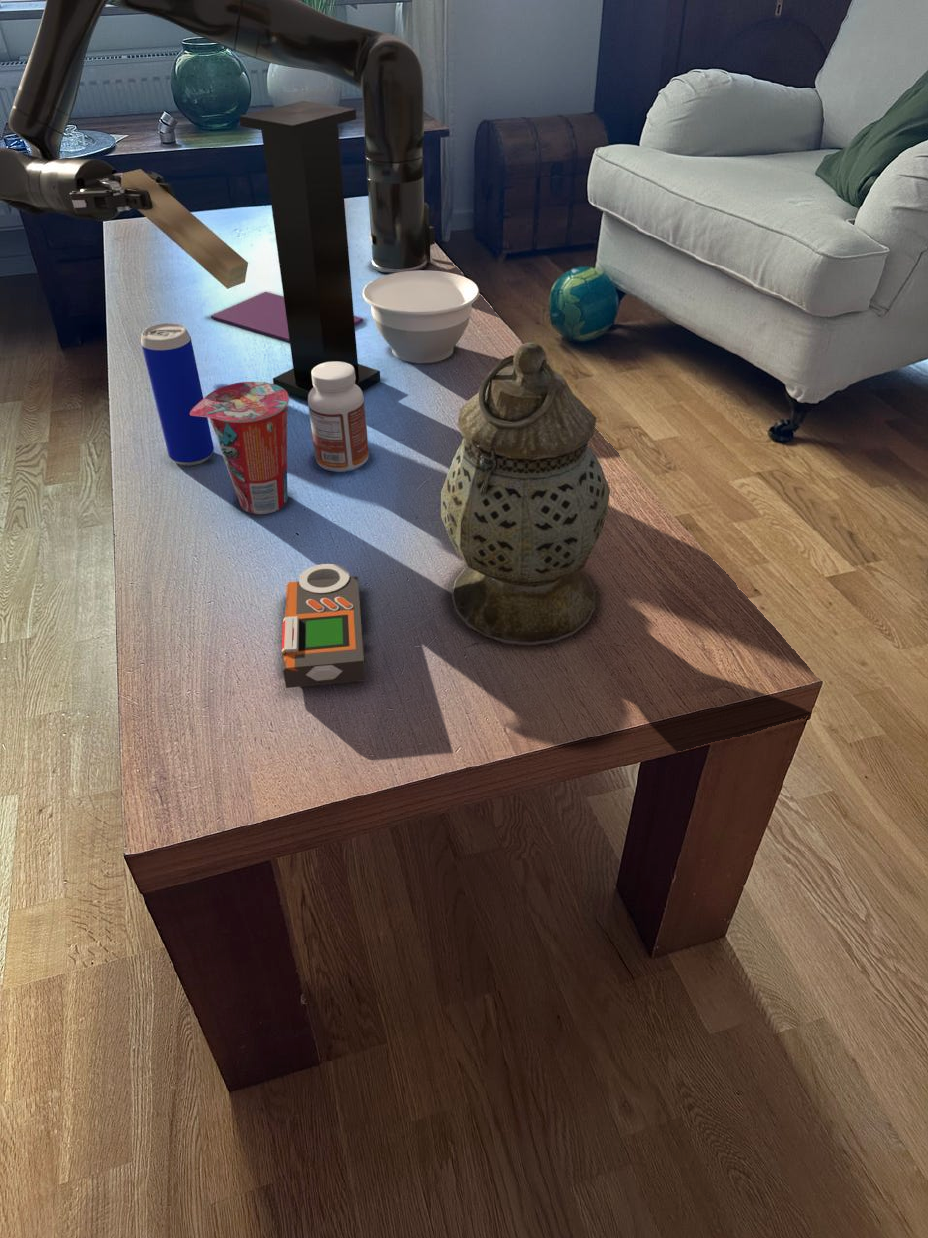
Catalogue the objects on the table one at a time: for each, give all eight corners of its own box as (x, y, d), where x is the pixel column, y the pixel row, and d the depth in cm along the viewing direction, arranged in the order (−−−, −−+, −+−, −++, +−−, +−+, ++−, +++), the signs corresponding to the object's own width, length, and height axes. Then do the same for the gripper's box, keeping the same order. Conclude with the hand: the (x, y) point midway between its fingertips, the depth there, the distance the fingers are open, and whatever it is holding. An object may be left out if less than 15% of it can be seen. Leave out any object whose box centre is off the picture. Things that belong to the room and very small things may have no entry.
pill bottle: (358, 442, 106) (350, 353, 98) (377, 466, 101) (370, 375, 94) (308, 453, 104) (296, 364, 96) (325, 478, 99) (314, 386, 92)
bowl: (459, 322, 133) (459, 264, 128) (494, 365, 122) (495, 304, 116) (356, 335, 130) (351, 276, 124) (381, 381, 118) (377, 318, 113)
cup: (263, 472, 100) (246, 373, 92) (319, 496, 97) (306, 394, 89) (201, 510, 94) (177, 407, 87) (257, 536, 91) (237, 431, 83)
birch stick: (120, 194, 115) (121, 173, 112) (139, 189, 116) (140, 168, 114) (227, 288, 112) (230, 269, 109) (245, 282, 114) (248, 262, 111)
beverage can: (220, 446, 105) (195, 322, 95) (206, 468, 101) (179, 342, 91) (178, 444, 105) (149, 320, 96) (163, 466, 101) (131, 340, 92)
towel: (265, 293, 142) (265, 291, 142) (362, 320, 134) (362, 318, 134) (211, 318, 135) (210, 315, 134) (310, 348, 126) (309, 345, 126)
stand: (273, 388, 116) (232, 114, 96) (325, 362, 123) (296, 99, 102) (330, 409, 112) (299, 126, 91) (380, 381, 118) (362, 110, 97)
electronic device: (356, 558, 84) (363, 660, 72) (359, 584, 85) (366, 686, 74) (284, 564, 83) (279, 667, 71) (288, 590, 85) (284, 694, 73)
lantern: (623, 628, 80) (664, 366, 63) (477, 666, 76) (479, 398, 60) (557, 543, 90) (577, 298, 73) (425, 573, 86) (415, 322, 70)
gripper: (25, 169, 115) (104, 176, 106) (116, 148, 123) (195, 153, 114) (46, 230, 119) (124, 242, 110) (132, 206, 128) (210, 215, 119)
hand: (160, 196), depth 112 cm, fingers closed on birch stick, 3 cm apart
